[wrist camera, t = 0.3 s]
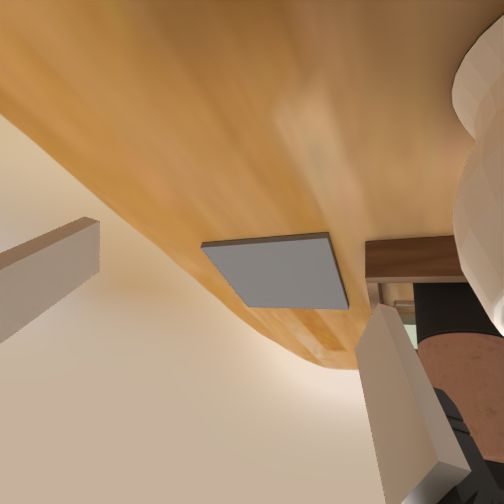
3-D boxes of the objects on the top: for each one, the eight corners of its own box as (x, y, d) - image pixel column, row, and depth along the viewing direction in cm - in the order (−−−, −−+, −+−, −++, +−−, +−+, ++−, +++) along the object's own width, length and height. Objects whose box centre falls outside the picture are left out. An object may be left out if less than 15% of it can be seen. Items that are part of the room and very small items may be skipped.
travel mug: (505, 279, 31) (585, 533, 20) (427, 294, 36) (455, 502, 25) (478, 240, 28) (557, 521, 16) (397, 263, 33) (413, 487, 21)
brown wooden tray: (365, 241, 31) (365, 277, 29) (572, 227, 24) (597, 273, 22) (379, 329, 47) (380, 357, 44) (508, 336, 40) (518, 370, 37)
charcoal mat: (202, 242, 38) (200, 247, 38) (327, 232, 31) (327, 238, 31) (249, 302, 49) (248, 307, 49) (349, 304, 42) (348, 309, 42)
